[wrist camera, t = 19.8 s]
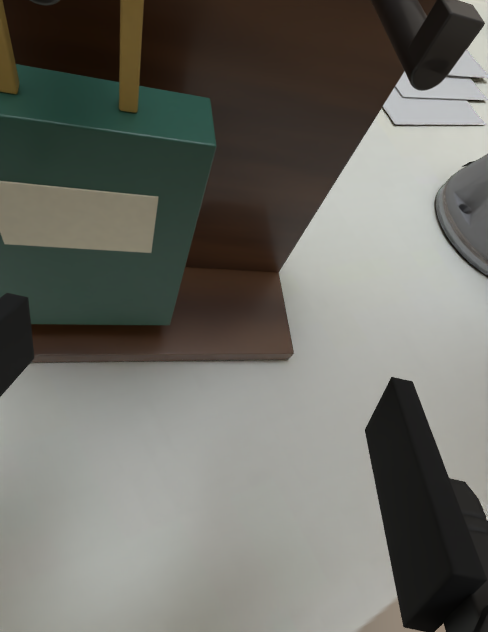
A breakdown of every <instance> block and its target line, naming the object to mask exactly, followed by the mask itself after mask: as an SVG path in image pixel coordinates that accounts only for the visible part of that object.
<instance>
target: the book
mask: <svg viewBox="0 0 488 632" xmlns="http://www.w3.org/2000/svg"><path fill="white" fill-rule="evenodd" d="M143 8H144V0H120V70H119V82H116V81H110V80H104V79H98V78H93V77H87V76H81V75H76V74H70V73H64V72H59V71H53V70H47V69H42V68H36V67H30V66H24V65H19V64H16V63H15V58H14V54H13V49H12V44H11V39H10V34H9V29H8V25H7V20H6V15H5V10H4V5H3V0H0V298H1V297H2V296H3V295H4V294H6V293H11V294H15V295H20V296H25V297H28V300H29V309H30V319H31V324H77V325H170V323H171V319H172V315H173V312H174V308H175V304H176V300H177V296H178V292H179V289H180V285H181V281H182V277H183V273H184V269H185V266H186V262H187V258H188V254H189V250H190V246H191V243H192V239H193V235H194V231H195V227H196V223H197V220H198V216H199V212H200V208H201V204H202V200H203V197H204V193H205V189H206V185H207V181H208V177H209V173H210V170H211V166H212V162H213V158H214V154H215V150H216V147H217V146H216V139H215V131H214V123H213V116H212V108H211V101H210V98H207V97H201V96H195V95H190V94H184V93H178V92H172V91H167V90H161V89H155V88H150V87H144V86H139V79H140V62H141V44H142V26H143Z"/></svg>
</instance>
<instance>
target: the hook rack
mask: <svg viewBox="0 0 488 632" xmlns="http://www.w3.org/2000/svg"><path fill="white" fill-rule="evenodd" d="M3 5H4V10H5V15H6V20H7V25H8V29H9V34H10V39H11V44H12V49H13V54H14V58H15V63H16V64H19V65H24V66H30V67H36V68H42V69H47V70H53V71H59V72H64V73H70V74H76V75H81V76H87V77H93V78H98V79H104V80H110V81H116V82H119V70H120V0H3ZM484 24H485V23H484V21H483V20H482V18H481V17H480V15H479V14H478V12H477V11H476V9H475V8H474V6H473V5H471V4H468V3H465V2H461V1H458V0H144V8H143V26H142V44H141V62H140V79H139V86H144V87H150V88H155V89H161V90H167V91H172V92H178V93H184V94H190V95H195V96H201V97H207V98H210V101H211V108H212V116H213V123H214V131H215V139H216V146H217V147H216V150H215V154H214V158H213V162H212V166H211V170H210V173H209V177H208V181H207V185H206V189H205V193H204V197H203V200H202V204H201V208H200V212H199V216H198V220H197V223H196V227H195V231H194V235H193V239H192V243H191V246H190V250H189V254H188V258H187V262H186V266H185V269H184V273H183V277H182V281H181V285H180V289H179V292H178V296H177V300H176V304H175V308H174V312H173V315H172V319H171V323H170V325H77V324H31V329H32V338H33V348H34V359H33V360H32V362H108V361H196V360H283V359H289V358H290V357H291V356H292V355H293V354H294V352H293V347H292V341H291V336H290V331H289V325H288V320H287V315H286V309H285V304H284V299H283V294H282V288H281V283H280V278H279V271H280V269H281V268H282V266H283V265H284V263H285V261H286V260H287V258H288V257H289V255H290V253H291V252H292V250H293V249H294V247H295V245H296V244H297V242H298V241H299V239H300V237H301V236H302V234H303V233H304V231H305V229H306V228H307V226H308V225H309V223H310V221H311V220H312V218H313V217H314V215H315V213H316V212H317V210H318V209H319V207H320V205H321V204H322V202H323V201H324V199H325V198H326V196H327V194H328V193H329V191H330V190H331V188H332V186H333V185H334V183H335V182H336V180H337V178H338V177H339V175H340V174H341V172H342V170H343V169H344V167H345V166H346V164H347V162H348V161H349V159H350V158H351V156H352V154H353V153H354V151H355V150H356V148H357V146H358V145H359V143H360V142H361V140H362V138H363V137H364V135H365V134H366V132H367V130H368V129H369V127H370V126H371V124H372V123H373V121H374V119H375V118H376V116H377V115H378V113H379V111H380V110H381V108H382V107H383V105H384V103H385V102H386V100H387V99H388V97H389V95H390V94H391V92H392V91H393V89H394V87H395V86H396V84H397V83H398V81H399V79H400V78H401V76H402V75H403V73H404V71H405V73H406V75H407V77H408V80H409V82H410V84H411V86H412V87H413V88H415V89H417V90H420V91H425V90H429V89H432V88H434V87H436V86H437V85H438V84H440V83H441V82H442V81H443V80H444V79H445V78H446V76H447V75H448V74H449V73H450V71H451V70H452V69H453V67H454V66H455V65H456V63H457V62H458V60H459V59H460V58H461V56H462V55H463V54H464V52H465V51H466V49H467V48H468V47H469V45H470V44H471V43H472V41H473V40H474V38H475V37H476V36H477V34H478V33H479V31H480V30H481V29H482V27H483V26H484Z"/></svg>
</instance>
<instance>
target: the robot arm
mask: <svg viewBox="0 0 488 632" xmlns="http://www.w3.org/2000/svg"><path fill="white" fill-rule="evenodd" d="M464 166H466V167H464ZM464 166H462V167H464V168H462V169H461V170H459V171H458V172H457V173H455V174H454V175H452V176H451V177H450V179H449V180H448V181H447V182H446V183H445V184H444V185H443V186H442V187H441V188H440V190H439V191H438V194H437V197H436V211H437V216H438V219H439V222H440V224H441V226H442V229H443V230H444V232H445V234H446V236H447V237H448V239H449V240H450V242H451V243H452V244H453V246H454V247H455V248H456V249H457V250H458V252H459V253H460V254H461V255H462V256H463V257H464V258H465V259H466V260H467V261H468V262H470V263H471V264H472V265H473V266H474V267H476V268H477V269H478V270H480V271H481V272H483V273H484V274H486V275H487V276H488V154H487V155H485V156H483V157H482V158H480V159H478V160H476V161H473V162H469V163H467V164H466V165H464ZM33 359H34V348H33V338H32V329H31V319H30V309H29V300H28V297H25V296H20V295H15V294H11V293H6V294H4V295H3V296H2V297H1V298H0V397H1V395H2V394H3V393H4V392H5V391H6V390H7V389H8V388H9V386H10V385H11V384H12V383H13V382H14V381H15V380H16V378H17V377H18V376H19V375H20V374H21V373H22V372H23V371H24V369H25V368H26V367H27V366H28V365H29V364H30V363H31V362H32V360H33ZM365 433H366V438H367V443H368V448H369V454H370V459H371V464H372V469H373V474H374V479H375V484H376V489H377V494H378V499H379V505H380V510H381V515H382V520H383V525H384V530H385V535H386V540H387V545H388V550H389V555H390V561H391V566H392V571H393V576H394V581H395V586H396V591H397V596H398V601H399V606H400V612H401V617H402V622H403V626H404V627H405V628H410V629H415V630H420V631H424V632H435V631H436V630H437V629H438V628H439V627H440V626H441V625H442V624H443V623H444V626H445V630H446V632H488V520H486V515H485V513H484V511H483V508H482V506H481V504H480V501H479V499H478V498H477V496H476V495H475V494H474V493H473V491H472V490H471V489H470V488H469V486H468V485H467V484H466V482H463V481H459V480H454V479H450V478H449V477H448V474H447V472H446V469H445V466H444V464H443V461H442V458H441V456H440V453H439V450H438V448H437V445H436V442H435V440H434V437H433V434H432V432H431V429H430V426H429V424H428V421H427V419H426V416H425V413H424V411H423V408H422V405H421V403H420V400H419V397H418V395H417V392H416V389H415V387H414V384H413V382H412V381H408V380H403V379H399V378H394V377H391V379H390V381H389V383H388V385H387V387H386V389H385V391H384V393H383V395H382V397H381V399H380V401H379V403H378V405H377V407H376V409H375V411H374V413H373V415H372V417H371V419H370V421H369V423H368V425H367V427H366V429H365Z"/></svg>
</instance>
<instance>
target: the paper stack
mask: <svg viewBox="0 0 488 632" xmlns="http://www.w3.org/2000/svg"><path fill="white" fill-rule="evenodd" d="M470 77H480V78H488V74H487V72H486V71H485V70H484V69H483V68H482V67H481V65H480V64H479V63H478V62H477V61H476V60H475V58H474V57H473V56H472V55H471V54H470V52H469V51H468V50H467V49H466V51H465V52H464V54H463V55H462V56H461V58H460V59H459V60H458V62H457V63H456V65H455V66H454V67H453V69H452V70H451V71H450V73H449V74H448V75H447V76H446V78H445V79H444V80H443V81H442V82H441V83H440V84H438V85H437V86H436V87H434V88H432V89H429V90H425V91H420V90H417V89H415V88H413V87H412V86H411V84H410V82H409V80H408V77H407V75H406V73H405V71H404V73H403V75H402V76H401V78H400V79H399V81H398V83H397V84H396V86H395V87H394V89H393V91H392V92H391V94H390V95H389V97H388V99H387V100H386V102H385V103H384V105H383V107H384V109H385V110H386V112H387V113H388V115H389V116H390V118H391V119H392V121H393V122H394V124H401V125H486V124H485V123H484V121H483V120H482V119H481V118H480V116H479V115H478V114H477V112H476V111H475V110H474V109H473V107H472V106H471V105H470V104H469V102H468V101H467V100H488V99H487V98H486V97H485V95H484V94H483V93H482V92H481V90H480V89H479V88H478V87H477V86H476V84H475V83H474V82H473V81H472V80H471V78H470ZM466 99H467V100H466Z"/></svg>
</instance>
